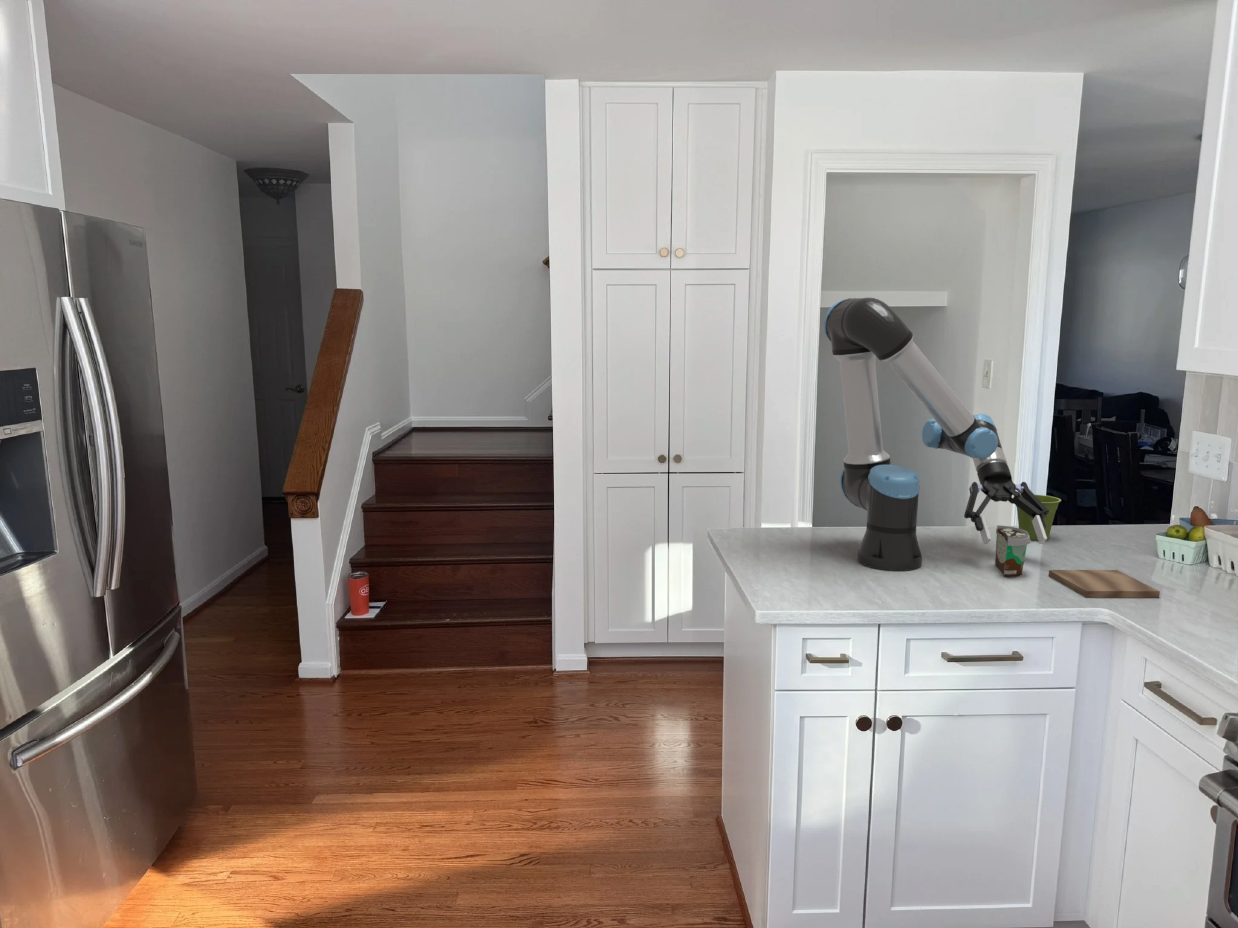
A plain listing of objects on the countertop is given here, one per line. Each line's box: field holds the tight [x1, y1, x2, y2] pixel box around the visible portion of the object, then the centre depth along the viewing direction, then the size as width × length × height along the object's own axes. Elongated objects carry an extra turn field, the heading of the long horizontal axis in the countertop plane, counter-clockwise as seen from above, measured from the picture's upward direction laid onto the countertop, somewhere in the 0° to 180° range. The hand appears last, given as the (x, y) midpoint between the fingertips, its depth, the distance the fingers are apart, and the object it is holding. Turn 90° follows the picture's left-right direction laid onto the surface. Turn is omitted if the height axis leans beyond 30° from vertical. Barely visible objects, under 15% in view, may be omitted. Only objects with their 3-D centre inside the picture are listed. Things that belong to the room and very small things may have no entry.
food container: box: [994, 524, 1031, 578], centre depth 204 cm, size 12×6×10 cm, turn 168°
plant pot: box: [1012, 494, 1062, 541], centre depth 236 cm, size 12×12×11 cm
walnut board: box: [1048, 569, 1161, 599], centre depth 194 cm, size 16×16×2 cm
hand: (1015, 541), depth 207 cm, fingers open, 13 cm apart
